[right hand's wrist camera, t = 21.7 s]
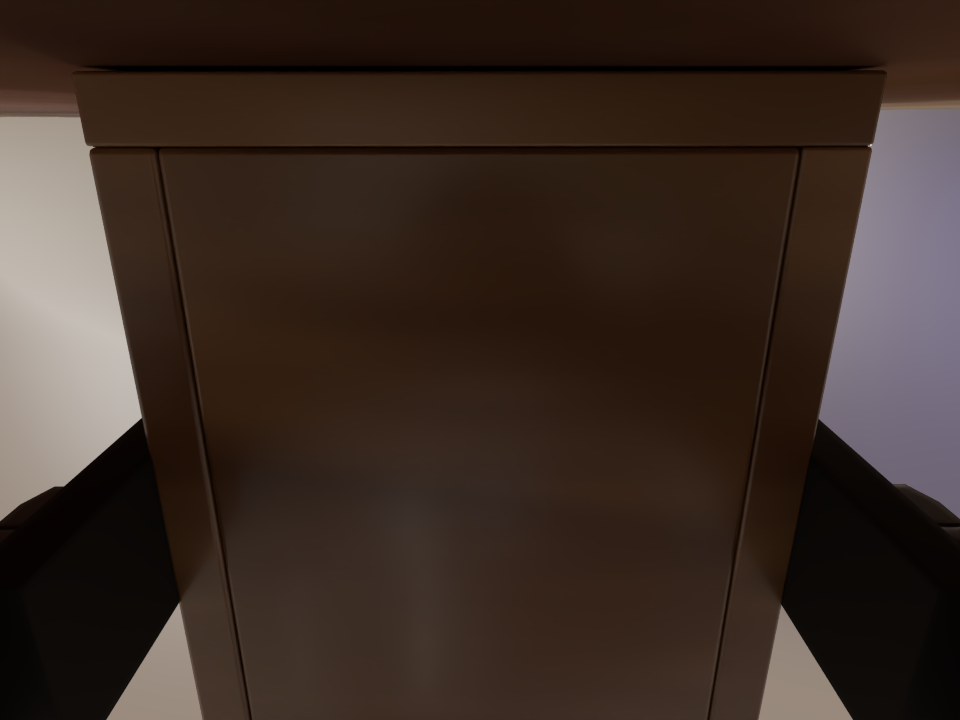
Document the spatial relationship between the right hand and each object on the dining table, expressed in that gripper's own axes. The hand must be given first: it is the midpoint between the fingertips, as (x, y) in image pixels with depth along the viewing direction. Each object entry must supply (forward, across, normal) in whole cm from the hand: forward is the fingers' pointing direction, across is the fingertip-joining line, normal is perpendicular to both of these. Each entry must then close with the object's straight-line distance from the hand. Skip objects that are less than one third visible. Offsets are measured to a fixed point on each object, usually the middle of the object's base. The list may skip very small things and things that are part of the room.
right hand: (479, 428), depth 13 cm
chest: (+4, 0, -6) cm, 8 cm away
